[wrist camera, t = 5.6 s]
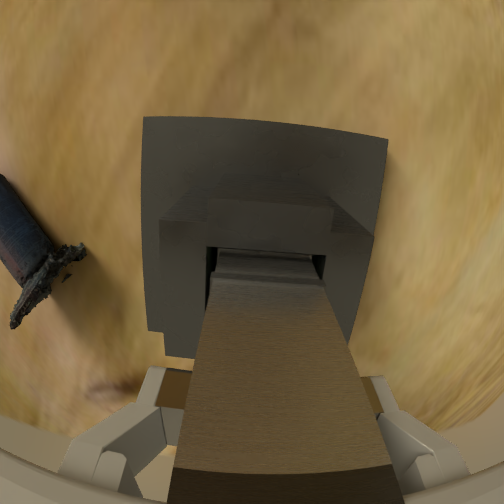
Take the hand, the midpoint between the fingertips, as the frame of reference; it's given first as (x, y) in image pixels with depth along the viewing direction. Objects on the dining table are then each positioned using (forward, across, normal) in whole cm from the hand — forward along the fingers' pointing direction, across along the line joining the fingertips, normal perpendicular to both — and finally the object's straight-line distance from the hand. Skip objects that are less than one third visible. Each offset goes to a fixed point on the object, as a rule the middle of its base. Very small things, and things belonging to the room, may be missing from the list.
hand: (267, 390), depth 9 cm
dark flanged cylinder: (+16, +20, +1) cm, 26 cm away
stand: (+15, 0, 0) cm, 15 cm away
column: (+12, 0, 0) cm, 12 cm away
